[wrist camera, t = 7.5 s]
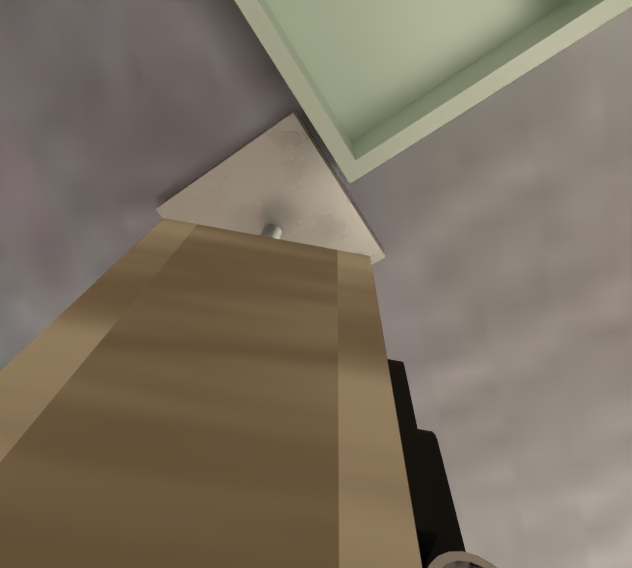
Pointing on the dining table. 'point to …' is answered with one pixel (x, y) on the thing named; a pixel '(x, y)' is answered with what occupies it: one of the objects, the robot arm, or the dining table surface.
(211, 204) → the stud plate
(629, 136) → the dining table surface
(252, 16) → the bin
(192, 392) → the strut
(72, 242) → the dining table surface
